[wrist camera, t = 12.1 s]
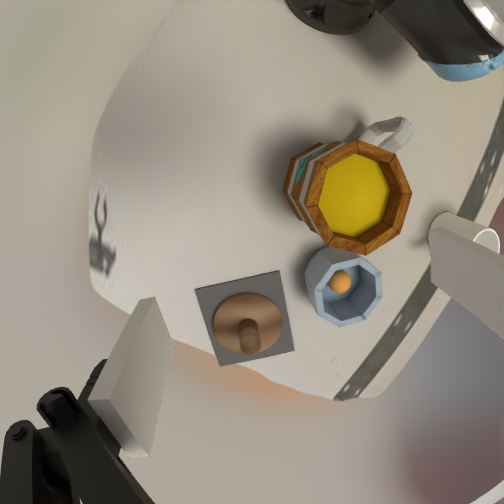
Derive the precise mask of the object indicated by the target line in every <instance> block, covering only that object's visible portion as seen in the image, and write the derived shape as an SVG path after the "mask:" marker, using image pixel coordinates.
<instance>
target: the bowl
mask: <svg viewBox="0 0 504 504" xmlns="http://www.w3.org/2000/svg"><path fill="white" fill-rule="evenodd" d="M336 271H345V272H346V273H348V274H349V276H350V278H351V286H350V288H349V289H348V290H347V291H346V292H344V293H336V292H334V291H333V290H332V289H331V287H330V285H329V279H330V278H331V277H332V275H333V274H334V272H336ZM304 281H305V286H306V288H307V293H308V298H309V300H310V302H311V303H312V305H313V307H314V309H315V311H316V313H317V315H318V316H320V317H322V318H323V319H325V320H327V321H329V322H331V323H332V324H334V325H336V326H338V327H343V326H346V325H350V324H353V323H357V322H360V321H363V320H366V318H367V317H368V316H369V315H370V313H371V312H372V311H373V309H374V308H375V307H376V305H377V304H378V303H379V301H380V300H381V299H382V281H381V271H379V270H378V269H377V268H376V267H375V266H373V265H372V264H371V263H370V262H369V261H367V260H366V259H365V258H363V257H362V256H361V255H359V254H357V253H353V252H349V251H345V250H341V249H337V248H333V247H329V246H327V247H324V248H322V249H321V250H319V251H318V252H316V253H315V254H314V255H313V256H312V257H311V259H310V260H309V262H308V264H307V266H306V269H305V273H304Z"/></svg>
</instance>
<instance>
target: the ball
mask: <svg viewBox="0 0 504 504" xmlns="http://www.w3.org/2000/svg"><path fill="white" fill-rule="evenodd" d="M329 285H330V287H331V289H332V290H333V291H334V292H336V293H344V292H346V291H347V290H348V289H349V288H350V286H351V278H350V276H349V274H348V273H346V272H345V271H336V272H334V274H333V275H332V277H331V278H330V279H329Z"/></svg>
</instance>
